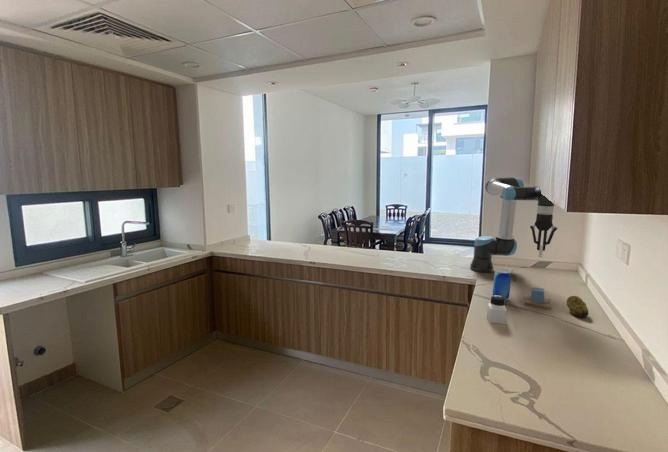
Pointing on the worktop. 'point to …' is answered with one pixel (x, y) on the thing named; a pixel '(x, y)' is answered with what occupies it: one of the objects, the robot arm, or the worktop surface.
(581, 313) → the brown oval lump
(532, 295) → the light blue chamfered box
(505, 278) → the beer can
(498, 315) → the medicine bottle
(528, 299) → the tan square panel
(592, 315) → the worktop surface
